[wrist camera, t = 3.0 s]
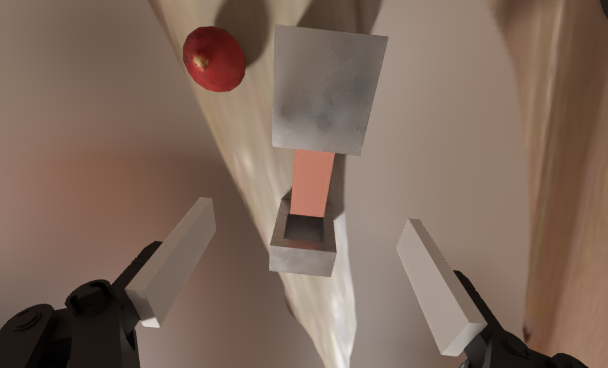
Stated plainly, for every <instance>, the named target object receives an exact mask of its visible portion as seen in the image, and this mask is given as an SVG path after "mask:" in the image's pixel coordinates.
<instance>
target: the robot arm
mask: <svg viewBox="0 0 608 368" xmlns="http://www.w3.org/2000/svg"><path fill="white" fill-rule="evenodd" d="M600 1H601V5H602V8H603V11H604V13H605V15H606V17H607V18H608V0H600ZM215 231H216V225H215V218H214V210H213V203H212V199H211V198H203V197H200V198H199V199H198V201H197V202H196V203H195V204H194V205H193V207H192V208H191V209H190V210H189V211H188V213H187V214H186V215H185V216H184V218H183V219H182V220H181V221H180V222H179V224H178V225H177V226H176V227H175V228H174V230H173V231H172V232H171V233H170V234H169V236H168V237H167V238H166V239H165V241H164V242H159V241H154V242H153V243H151V244H150V245H148V246H147V247H145V248H144V249H143V250H142V251H141V253H140V254H139V255H138V257H137V258H135V260H133V261H132V263H131V264H130V265H129V266H128V267H127V268H126V269H125V270H124V271H123V273H122V274H121V275H120V276H119V277H118V278H117V279H116V280H115V282H114V283H113V284H112V285H111V284H110V283H109V281H107V280H94V281H90V282H88V283H85V284H83V285H81V286H80V287H78V288H77V289H75V290H74V291H73V292H72V293H71V294H70V295H69V296H68V297H67V299H66V302H65V305H66V307H67V308H65V309H59V310H54V308H53V307H52V306H51V305H49V304H38V305H35V306H32V307H29V308H27V309H25V310H23V311H21V312H19V313H17V314H16V315H15V316H13V317H12V318H11V319H10V320H8V321H7V323H6V324H5V325H4V326H3V327H2V328H1V330H0V368H140V361H139V353H138V345H137V337H136V331H135V328H134V327H135V326H136V324H137V323H138V321H139V320H141V322H142V324H143V326H147V327H158V328H160V327H161V325H162V323H163V322H164V320H165V318H166V317H167V315H168V313H169V311H170V310H171V308H172V306H173V304H174V303H175V301H176V299H177V297H178V296H179V294H180V292H181V290H182V289H183V287H184V285H185V283H186V282H187V280H188V278H189V276H190V275H191V273H192V271H193V270H194V268H195V266H196V264H197V263H198V261H199V259H200V257H201V256H202V254H203V252H204V250H205V249H206V247H207V245H208V243H209V242H210V240H211V238H212V236H213V235H214V233H215ZM396 250H397V252H398V254H399V257H400V259H401V261H402V264H403V266H404V268H405V271H406V273H407V275H408V278H409V280H410V282H411V285H412V287H413V290H414V292H415V294H416V297H417V299H418V301H419V304H420V306H421V308H422V311H423V313H424V315H425V317H426V320H427V322H428V324H429V327H430V329H431V332H432V334H433V336H434V339H435V341H436V343H437V346H438V348H439V350H440V352H441V354H442V355H450V356H458V355H459V354H460V353H461V352H462V351H463V350H464V351H465V353H466V355H467V357H468V359H467V360H466V361H465V362H463V363H462V365H460V367H459V368H588V367H587V366H586V365H584V364H583V363H582V362H581V361H579V360H578V359H576V358H574V357H572V356H570V355H567V354H564V353H557V354H556V355H554V356H553V357H552V358H551V357H548V356H546V355H543V354H541V353H538V352H536V351H533V350H531V349H529V348H528V347H527V346H526V345H525V344H524V343H523V342H522V341H521V340H520V339H519V338H517V337H516V336H515V335H514V334H512V333H509V332H508V331H505V330H504V329H503V328H502V326H501V325H500V324H499V322H498V321H497V319H496V318H495V316H494V315H493V314H492V312H491V311H490V309H489V308H488V307H487V305H486V303H485V302H484V301H483V299H481V297H480V295H479V293H478V292H477V291H475V288H474V286H473V285H472V283H471V282H470V281H469V279H468V278H467V277H465V276H464V275H463V274H462V273H461V272H460V271H455V270H452V269H451V267H450V265H449V264H448V262H447V261H446V259H445V258H444V256H443V255H442V253H441V252H440V250H439V249H438V247H437V246H436V244H435V242H434V241H433V239H432V238H431V236H430V235H429V233H428V232H427V230H426V229H425V227H424V226H423V224H422V222H421V221H420V220H418V219H408V220H407V223H406V225H405V227H404V230H403V232H402V235H401V237H400V239H399V242H398V244H397V246H396Z"/></svg>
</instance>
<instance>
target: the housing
mask: <svg viewBox="0 0 608 368" xmlns="http://www.w3.org/2000/svg"><path fill="white" fill-rule="evenodd" d="M387 41H388V37H386V36H376V35H368V34H359V33H350V32H340V31H331V30H322V29H313V28H304V27H295V26H286V25H277V24H275V39H274V83H273V128H272V146H275V147H284V148H293V149H302V150H312V151H321V152H330V153H339V154H349V155H358V156H360V153H361V149H362V145H363V141H364V137H365V132H366V128H367V124H368V120H369V116H370V111H371V107H372V103H373V99H374V95H375V91H376V87H377V82H378V78H379V74H380V70H381V66H382V62H383V58H384V53H385V49H386V45H387Z"/></svg>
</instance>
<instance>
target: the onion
mask: <svg viewBox="0 0 608 368" xmlns="http://www.w3.org/2000/svg"><path fill="white" fill-rule="evenodd" d="M183 61H184V64H185V66H186V68H187V70H188V73H189V74H190V75H191V77H192V78H193V79H194V80H195V81H196V83H197V84H199V85H200V86H202V87H203V88H205V89H207V90H211V91H215V92H226V91H231V90H233V89H234V88H235V87H237V86H238V85H239V84H240V83H241V81H242V79H243V77H244V76H245V68H246V62H245V57H244V52H243V50H242V49H241V47H240V45H239V43H238V41H237V40H236V39H235V38H234V37H233V36H232V35H230V34H229V33H228V32H227V31H225V30H223V29H220V28H217V27H214V26H208V27H198V28H197V29H196V30H194V31H193V32H191V33H190V34H189V35H188V36H187V39H186V41H185V43H184V46H183Z"/></svg>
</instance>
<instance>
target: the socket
mask: <svg viewBox="0 0 608 368" xmlns="http://www.w3.org/2000/svg"><path fill="white" fill-rule="evenodd" d="M290 210H291V200H288V199H281V203H280V207H279V211H278V215H277V219H276V223H275V227H274V231H273V235H272V239H271V243H270V262H269V263H270V264H269V270H270V271H278V272H287V273H296V274H306V275H315V276H325V277H331V274H332V270H333V266H334V262H335V257H336V253H337V252H336V242H335V232H334V222H333V212H332V204H326V207H325V212H324V217H316V216H306V215H297V214H290Z"/></svg>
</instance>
